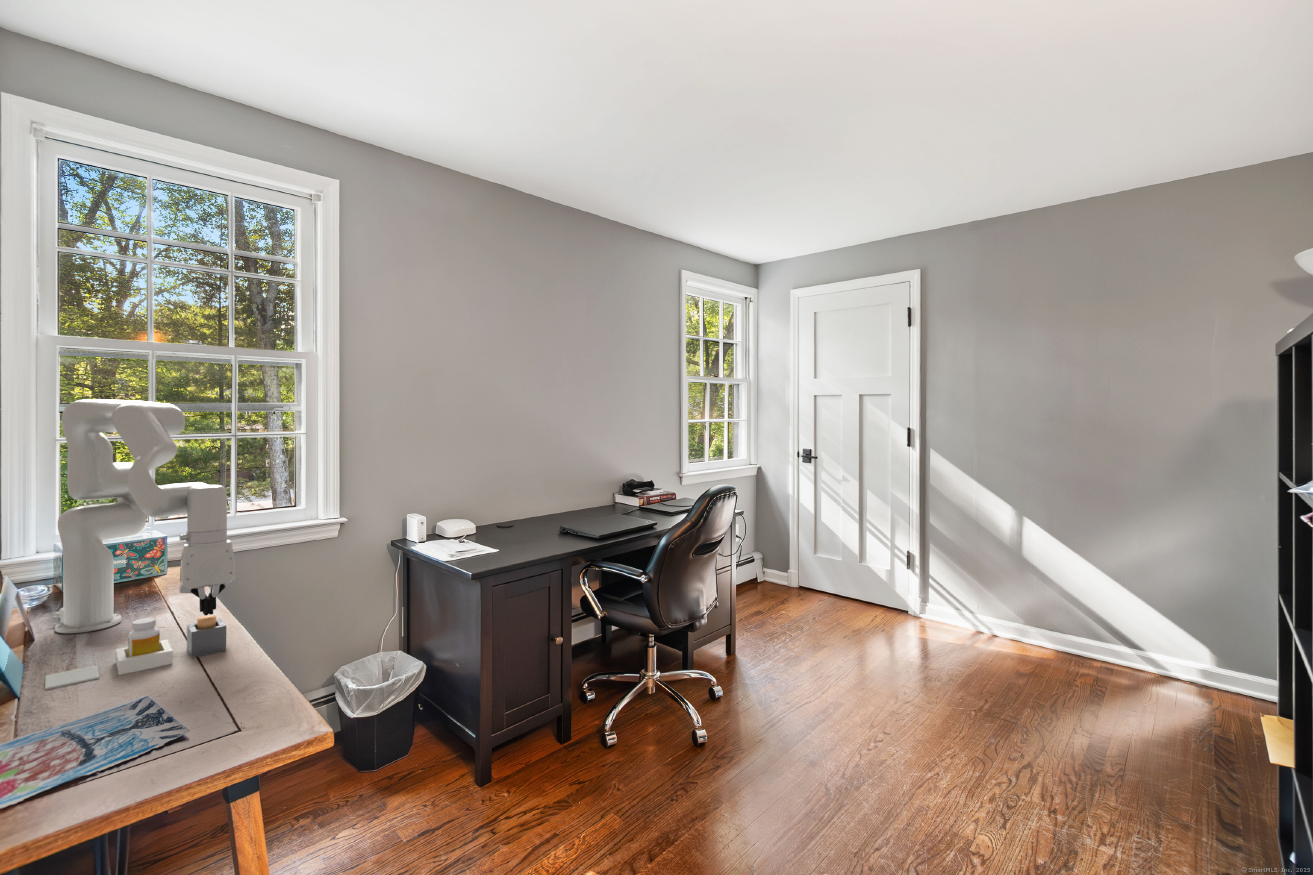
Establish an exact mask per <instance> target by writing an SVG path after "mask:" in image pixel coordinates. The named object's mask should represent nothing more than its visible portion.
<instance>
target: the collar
mask: <svg viewBox="0 0 1313 875" xmlns="http://www.w3.org/2000/svg"><path fill="white" fill-rule="evenodd" d="M173 655H174V654H173V649H172V646H171V644H170V642H169V640H168V639H163V640H160V651H159V652H154V653H149V654H144V655H139V656H134V657H129V658H128V646H125V647H121V648H115V665H116V670H117V673H118V676H121V675H126V674H130V673H135V672H136V673H137V672H141V671H145V670H149V669H153V668H154V669H155V668H160V667H164V666H168V665H172V664H173V663H174V662H173V658H174V657H173Z"/></svg>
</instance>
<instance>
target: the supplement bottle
mask: <svg viewBox="0 0 1313 875" xmlns="http://www.w3.org/2000/svg"><path fill="white" fill-rule="evenodd" d="M156 622H157V621H156V618H154V617H145V618H140V619H139V618H138V619H136V620H133V621H132V624H131V628H132V631H130V632H129V634H128V636H127V637H128V638H127V647H128V658H129V657H134V656H139V655H144V654H149V653H154V652H159V651H160V641H161V640H160V636H161V635H160V634H161V633H160V629H159V628H158V627H156Z"/></svg>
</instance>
